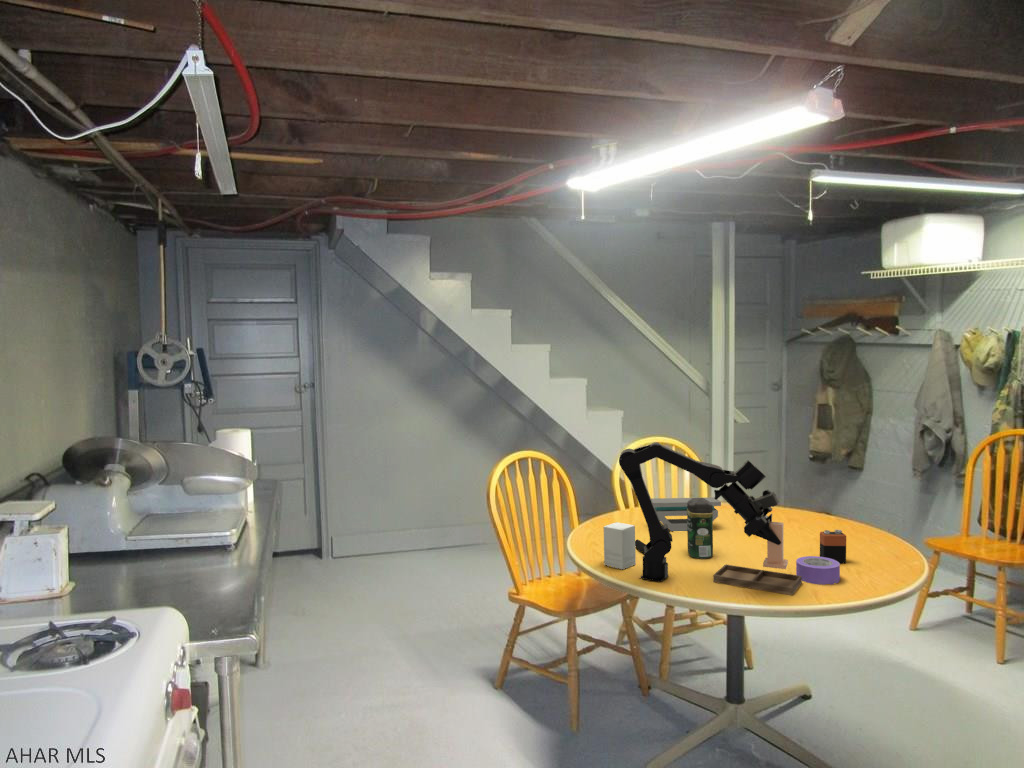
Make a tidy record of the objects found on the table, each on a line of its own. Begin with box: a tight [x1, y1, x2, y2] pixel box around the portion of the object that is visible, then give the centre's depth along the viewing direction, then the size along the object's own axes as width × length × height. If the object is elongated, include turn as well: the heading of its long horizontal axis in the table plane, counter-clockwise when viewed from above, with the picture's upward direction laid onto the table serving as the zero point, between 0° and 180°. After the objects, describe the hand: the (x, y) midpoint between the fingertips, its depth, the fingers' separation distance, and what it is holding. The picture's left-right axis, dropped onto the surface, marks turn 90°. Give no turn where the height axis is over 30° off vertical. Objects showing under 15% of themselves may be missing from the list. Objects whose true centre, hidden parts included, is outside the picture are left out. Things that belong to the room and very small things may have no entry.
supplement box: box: [603, 521, 637, 570], centre depth 225 cm, size 7×7×13 cm
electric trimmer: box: [635, 539, 647, 554], centre depth 238 cm, size 4×16×3 cm, turn 11°
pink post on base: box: [762, 521, 789, 570], centre depth 202 cm, size 6×6×12 cm
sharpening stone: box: [651, 496, 722, 532], centre depth 268 cm, size 25×8×11 cm, turn 90°
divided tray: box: [712, 564, 803, 596], centre depth 206 cm, size 22×12×2 cm, turn 57°
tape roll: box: [795, 555, 841, 586], centre depth 210 cm, size 12×12×5 cm
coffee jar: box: [686, 497, 714, 560], centre depth 234 cm, size 10×8×19 cm
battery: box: [819, 529, 847, 564], centre depth 225 cm, size 4×7×10 cm, turn 85°
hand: (780, 542), depth 202 cm, fingers closed on pink post on base, 3 cm apart
